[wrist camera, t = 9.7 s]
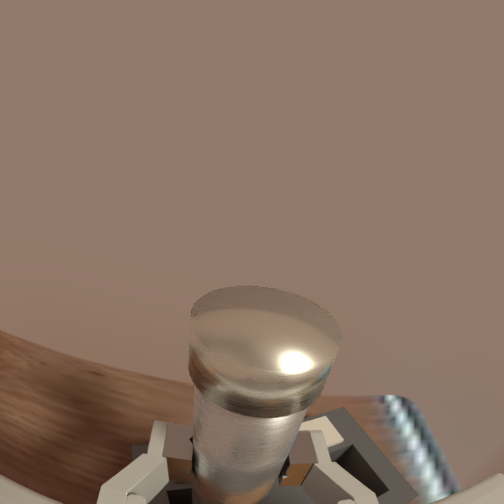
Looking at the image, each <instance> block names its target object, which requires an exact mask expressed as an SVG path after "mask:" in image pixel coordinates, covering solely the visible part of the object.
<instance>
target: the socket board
mask: <svg viewBox="0 0 504 504" xmlns="http://www.w3.org/2000/svg"><path fill="white" fill-rule="evenodd" d="M302 430H308V431H310V430H321V431H322V432H323V435H324V438H325V441H326V445H327V448H328V451H329V455H330V458H331V462H336V463H337V464H338V465H340V466H341V467H342V468H343V469H344V470H346V471H347V472H348V473H349V474H351V475H352V476H353V477H354V478H356V479H357V480H358V481H359V482H361V483H362V484H363V485H365V486H366V487H367V488H368V489H370V490H371V491H372V492H374V493H375V494H376V497H377V500H378V503H379V504H408V503H410V502H411V501H412V500H413V499H414V498H415V497H416V496H417V495H419V494H418V493H417V492H416V491H415V490H414V489H413V488H412V487H411V485H410V484H409V483H408V482H407V481H406V480H405V478H404V477H403V476H402V475H401V474H400V473H399V472H398V470H397V469H396V468H395V467H394V466H393V465H392V463H391V462H390V461H389V460H388V459H387V458H386V456H385V455H384V454H383V453H382V452H381V451H380V449H379V448H378V447H377V446H376V445H375V443H374V442H373V441H372V440H371V439H370V438H369V436H368V435H367V434H366V433H365V432H364V430H363V429H362V428H361V427H360V426H359V424H358V423H357V422H356V421H355V420H354V418H353V417H352V416H351V415H350V414H349V412H348V411H347V410H346V409H345V408H344V407H342V408H338V409H335V410H332V411H329V412H326V413H322V414H319V415H316V416H312V417H308V418H305V419H303V422H302V424H301V426H300V429H299V431H302ZM148 445H149V444H146V445H130V446H131V453H132V459H133V461H134V460H135V459H136V458H138V457H139V456H140V455H141V454H147V450H148ZM148 504H192V483H190V482H180V481H171V480H169V482H168V483H167V484H166V485H165V486H164V487H163V488H162V489H161V491H160V492H159V493H158V494H157V495H156V496H155V497H154V498H153V499H152V500H151V501H150V502H149V503H148ZM265 504H316V503H315V502H314V501H313V500H312V499H311V498H310V497H309V496H308V494H307V493H306V492H305V491H304V490H303V489H302V488H301V487H300V486H279V481H278V478H277V480H276V482H275V484H274V486H273V488H272V490H271V492H270V494H269V496H268V498H267V500H266V502H265Z"/></svg>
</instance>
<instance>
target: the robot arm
mask: <svg viewBox="0 0 504 504" xmlns="http://www.w3.org/2000/svg"><path fill="white" fill-rule="evenodd" d="M192 473H193V426H189V425H182V424H176V423H170V422H164V421H158V420H155V421H154V423H153V428H152V432H151V436H150V441H149V445H148V450H147V454H141V455H140V456H139V457H138V458H136V459H135V460H134V461H133V462H131V463H130V464H129V465H128V466H126V467H125V468H124V469H123V470H121V471H120V472H119V473H117V474H116V475H115V476H114V477H112V478H111V479H110V480H108V481H107V482H106V483H104V484H103V485H102V486H101V489H100V493H99V497H98V500H97V504H148V503H149V502H150V501H151V500H152V499H153V498H154V497H155V496H156V495H157V494H158V493H159V492H160V491H161V489H162V488H163V487H164V486H165V485H166V484H167V483H168V482H169V480H171V481H180V482H190V483H192ZM278 481H279V486H300V487H301V488H302V489H303V490H304V491H305V492H306V493H307V494H308V496H309V497H310V498H311V499H312V500H313V501H314V502H315V503H316V504H379V503H378V500H377V497H376V494H375V493H374V492H372V491H371V490H370V489H368V488H367V487H366V486H365V485H363V484H362V483H361V482H359V481H358V480H357V479H356V478H354V477H353V476H352V475H351V474H349V473H348V472H347V471H346V470H344V469H343V468H342V467H341V466H340V465H338V464H337V463H336V462H331V458H330V455H329V451H328V448H327V445H326V441H325V438H324V435H323V432H322V431H321V430H310V431H308V430H302V431H298V434H297V436H296V438H295V441H294V443H293V445H292V447H291V450H290V452H289V454H288V456H287V459H286V461H285V463H284V465H283V467H282V469H281V472H280V474H279V476H278ZM0 504H64V503H61V502H59V501H56V500H53V499H51V498H49V497H46V496H44V495H42V494H39V493H37V492H35V491H33V490H31V489H28V488H26V487H24V486H22V485H20V484H18V483H16V482H14V481H12V480H10V479H8V478H7V477H5V476H3V475H1V474H0ZM430 504H504V475H503V474H501V473H498V474H494V475H492V476H490V477H488V478H486V479H484V480H482V481H480V482H478V483H476V484H474V485H472V486H470V487H468V488H466V489H464V490H462V491H459V492H457V493H455V494H453V495H450V496H448V497H446V498H443V499H441V500H438V501H436V502H433V503H430Z"/></svg>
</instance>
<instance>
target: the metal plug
mask: <svg viewBox="0 0 504 504" xmlns="http://www.w3.org/2000/svg"><path fill="white" fill-rule="evenodd" d="M341 337H342V336H341V330H340V327H339V325H338V323H337V321H336V320H335V319H334V318H333V316H332V315H330V313H329V312H327V311H326V310H325V309H324V308H322V307H321V306H319V305H318V304H316V303H314V302H312V301H310V300H308V299H306V298H304V297H301V296H299V295H296V294H293V293H290V292H286V291H283V290H279V289H274V288H268V287H260V286H234V287H226V288H222V289H218V290H215V291H212V292H209V293H207V294H206V295H204V296H202V297H201V298H200V299H198V300H197V302H196V303H195V304H194V306H193V308H192V311H191V319H190V336H189V358H188V369H189V374H190V377H191V379H192V381H193V383H194V384H195V393H194V418H193V473H192V504H265V502H266V500H267V498H268V496H269V494H270V492H271V490H272V488H273V486H274V484H275V482H276V480H277V478H278V476H279V474H280V472H281V469H282V467H283V465H284V463H285V461H286V459H287V456H288V454H289V452H290V450H291V447H292V445H293V443H294V441H295V438H296V436H297V434H298V431H299V429H300V426H301V424H302V422H303V419H304V417H305V414H306V412H307V409H308V407H309V406H311V405H312V404H313V403H314V402H315V401H316V400H317V399H318V398H319V397H320V395H321V393H322V391H323V389H324V387H325V384H326V381H327V379H328V376H329V374H330V371H331V368H332V365H333V363H334V360H335V357H336V354H337V352H338V349H339V346H340V343H341Z"/></svg>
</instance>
